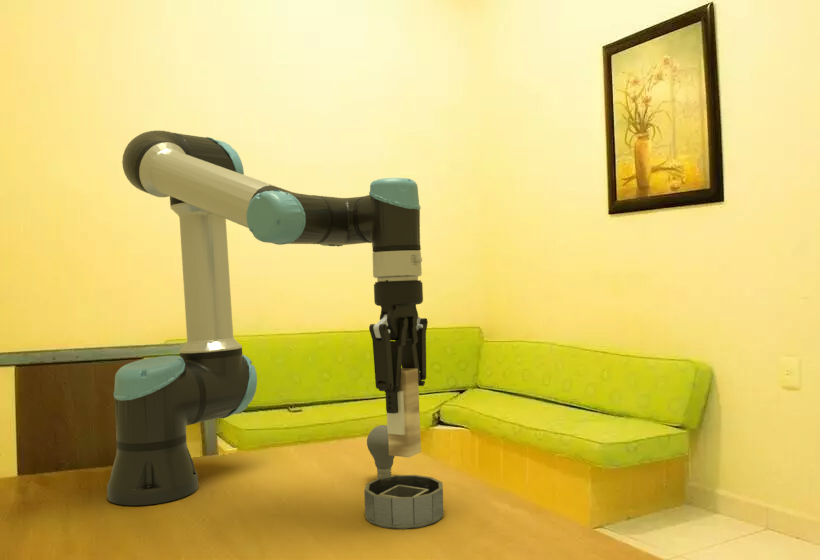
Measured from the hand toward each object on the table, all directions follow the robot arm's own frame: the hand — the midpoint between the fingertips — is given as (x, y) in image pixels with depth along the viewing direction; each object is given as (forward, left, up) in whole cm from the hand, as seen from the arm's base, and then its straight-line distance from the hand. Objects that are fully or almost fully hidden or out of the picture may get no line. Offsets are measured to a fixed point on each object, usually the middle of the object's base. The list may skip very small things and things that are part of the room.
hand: (403, 430), depth 111 cm
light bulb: (-13, +14, -13) cm, 24 cm away
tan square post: (0, 0, -4) cm, 4 cm away
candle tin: (0, 0, -13) cm, 13 cm away
